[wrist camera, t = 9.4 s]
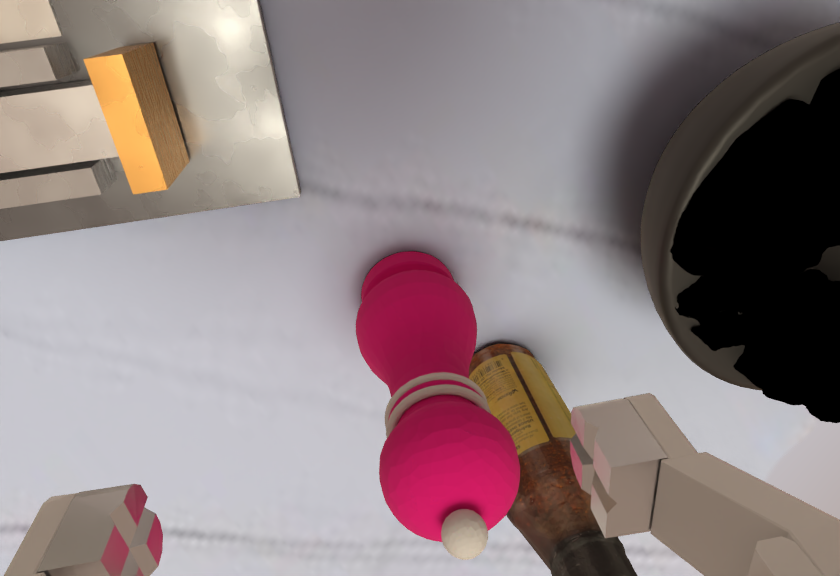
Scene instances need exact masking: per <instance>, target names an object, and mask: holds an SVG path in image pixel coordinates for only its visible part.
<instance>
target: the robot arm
mask: <svg viewBox="0 0 840 576" xmlns="http://www.w3.org/2000/svg"><path fill="white" fill-rule="evenodd" d="M571 424H572V426H573V428H574V430H575V432H576V434H575V435H574V436H573V437H572V438H571V440H570V454H571V460H572V465H573V469H574V472H575V475H576V478H577V480H578V482H579V485H580V487H581V489H582V490H584V491H585V492H587V493H589V494H590V495H591V510H592V512H593V514H594V516H595V518H596V520H597V522H598V525H599V527H600V529H601V531H602V533H603V535H604V537H605V538H610V537H617V536H623V535H629V534H635V533H642V532H648V531H651V534H652V535H653V536H654V537H656V538H657V539H658V540H660V541H661V542H662V543H663V544H665V545H666V546H667V547H668V548H670V549H671V550H672V551H674V552H675V553H676V554H677V555H679V556H680V557H681V558H682V559H684V560H685V561H686V562H688V563H689V564H690V565H691V566H693V567H694V568H695V569H696V570H698V571H699V572H700V573H702V574H703V575H704V576H840V520H839V519H837V518H835V517H833V516H831V515H829V514H827V513H825V512H823V511H821V510H819V509H817V508H815V507H813V506H811V505H809V504H807V503H805V502H804V501H802V500H799V499H797V498H796V497H794V496H792V495H790V494H788V493H786V492H784V491H782V490H780V489H778V488H776V487H774V486H772V485H770V484H768V483H766V482H764V481H762V480H760V479H758V478H756V477H754V476H752V475H750V474H748V473H746V472H744V471H742V470H740V469H738V468H736V467H734V466H732V465H730V464H728V463H726V462H724V461H723V460H721V459H719V458H717V457H715V456H713V455H711V454H709V453H707V452H703V453H698V452H697V451H696V450H695V449H694V447H693V446H692V445H691V443H690V442H689V441H688V439H687V438H686V437H685V435H684V434H683V433H682V431H681V430H680V429H679V427H678V426H677V425H676V424H675V422H674V421H673V420H672V418H671V417H670V416H669V414H668V413H667V412H666V410H665V409H664V408H663V406H662V405H661V404H660V402H659V401H658V400H657V399H656V397H655V396H654V395H652V394H650V393H647V394H641V395H636V396H631V397H625V398H624V399H622V398H621V399H615V400H610V401H604V402H599V403H594V404H588V405H583V406H577V407H573V410H572V412H571ZM146 500H147V495H146V494H145V492H144V490H143V488H142V487H141V485H137V484H131V485H124V486H117V487H111V488H104V489H97V490H90V491H84V492H79V493H75V494H68V495H61V496H54V497H51V498H49V499H48V500H47V501H46V502H44V503H43V505H42V506H41V508H40V510H39V512H38V514H37V516H36V517H35V519H34V521H33V523H32V525H31V527H30V529H29V530H28V532H27V534H26V536H25V538H24V540H23V541H22V543H21V545H20V547H19V549H18V551H17V552H16V554H15V556H14V558H13V560H12V562H11V563H10V565H9V567H8V569H7V571H6V573H5V575H4V576H150V575H151V574H152V573H153V571H154V570H155V569H156V568H157V567H158V565H159V561H160V558H161V554H162V542H163V534H162V529H161V524H160V521H159V519H158V517H157V515H156V514H155V513H154V512H152V511H150V510H148V509H146V508H144V506H145V503H146Z"/></svg>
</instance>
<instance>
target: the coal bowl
mask: <svg viewBox="0 0 840 576" xmlns="http://www.w3.org/2000/svg"><path fill="white" fill-rule="evenodd" d="M641 256H642V264H643V269H644V274H645V278H646V282H647V286H648V290H649V292H650V295H651V298H652V300H653V303H654V306H655V308H656V311H657V313H658V314H659V316H660V318H661V320H662V322H663V324H664V326H665V327H666V329H667V331H668V332H669V334H670V335H671V337H672V338H673V339H674V341H675V342H676V344H677V345H678V346H679V348H680V349H681V350H682V351H683V352H684V353H685V355H686V356H687V357H688V358H689V359H690V360H691V361H692V362H694V363H695V364H696V365H697V366H699V367H700V368H701V369H703V370H704V371H706V372H708V373H710V374H711V375H713V376H715V377H716V378H719V379H721V380H723V381H726V382H728V383H731V384H734V385H737V386H740V387H745V388H750V389H755V390H762V391H763V394H764V395H765V396H766V397H768V398H771V399H774V400H778V401H782V402H785V403H787V404H790V405H802V404H803V405H805V406H806V408H807V409H808V411H809V413H811V414H812V415H813V416H815V417H816V418H818V419H819V420H820V421H825V422H832V423H839V422H840V22H839V23H835V24H832V25H829V26H826V27H823V28H820V29H817V30H814V31H811V32H809V33H806V34H804V35H801V36H799V37H796V38H794V39H792V40H790V41H787V42H785V43H783V44H781V45H779V46H777V47H775V48H773V49H771V50H770V51H768V52H766V53H764V54H762V55H760V56H759V57H757V58H755V59H754V60H752V61H750V62H749V63H747V64H746V65H744V66H743V67H741V68H740V69H738V70H737V71H735V72H734V73H733V74H732V75H730V76H729V77H728V78H726V79H725V80H724V81H723V82H721V83H720V84H719V85H718V86H717V87H716V88H715V89H714V90H713V91H711V92H710V93H709V94H708V95H707V96H706V97H705V98H704V99H703V100H702V101H701V102H700V103H699V104H698V105H697V106H696V107H695V108H694V109H693V110H692V111H691V113H690V114H689V115H688V116H687V118H686V119H685V120H684V121H683V122H682V124H681V125H680V126H679V128H678V129H677V131H676V132H675V134H674V135H673V136H672V138H671V139H670V141H669V143H668V145H667V146H666V148H665V150H664V151H663V153H662V155H661V157H660V159H659V161H658V163H657V166H656V168H655V170H654V173H653V176H652V178H651V181H650V184H649V187H648V191H647V194H646V198H645V202H644V208H643V213H642V221H641Z"/></svg>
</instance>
